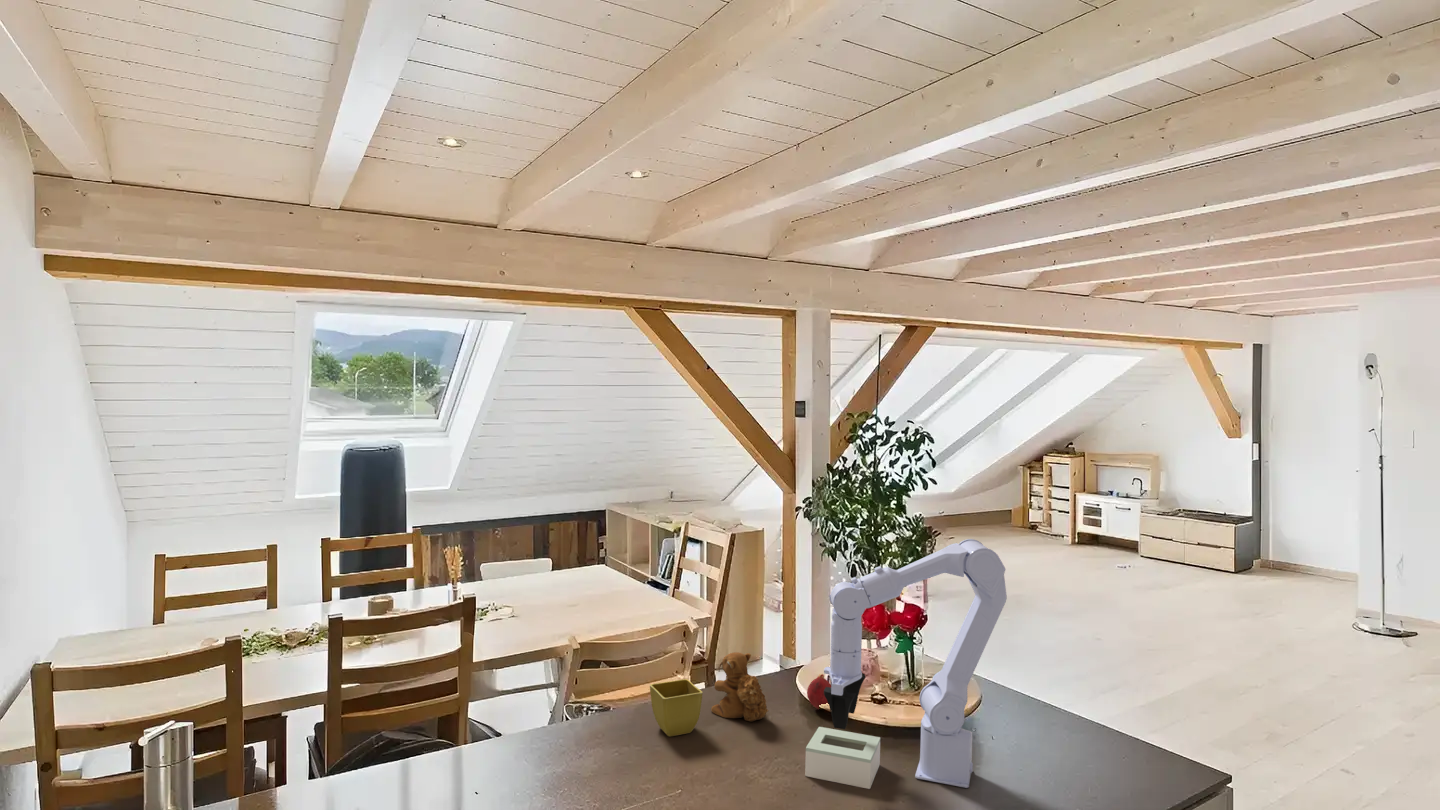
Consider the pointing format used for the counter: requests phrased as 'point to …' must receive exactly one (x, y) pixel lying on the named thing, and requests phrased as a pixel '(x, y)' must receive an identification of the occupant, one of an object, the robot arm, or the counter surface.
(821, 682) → the onion
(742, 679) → the stuffed squirrel
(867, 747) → the box
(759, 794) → the counter surface
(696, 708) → the flower pot
